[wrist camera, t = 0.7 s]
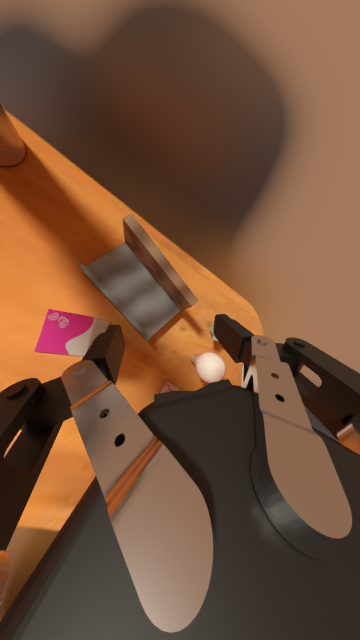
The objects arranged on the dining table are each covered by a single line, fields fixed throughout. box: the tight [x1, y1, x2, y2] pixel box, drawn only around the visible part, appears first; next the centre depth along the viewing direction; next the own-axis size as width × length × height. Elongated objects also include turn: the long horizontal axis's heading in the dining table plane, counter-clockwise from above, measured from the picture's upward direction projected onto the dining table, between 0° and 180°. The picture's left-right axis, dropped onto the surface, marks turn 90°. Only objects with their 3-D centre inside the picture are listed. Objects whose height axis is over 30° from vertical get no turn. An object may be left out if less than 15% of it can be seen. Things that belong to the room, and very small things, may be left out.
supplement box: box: [35, 309, 110, 357], centre depth 22 cm, size 6×6×12 cm
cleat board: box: [77, 214, 198, 341], centre depth 27 cm, size 20×13×9 cm, turn 42°
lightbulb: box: [191, 352, 226, 383], centre depth 30 cm, size 6×6×11 cm
